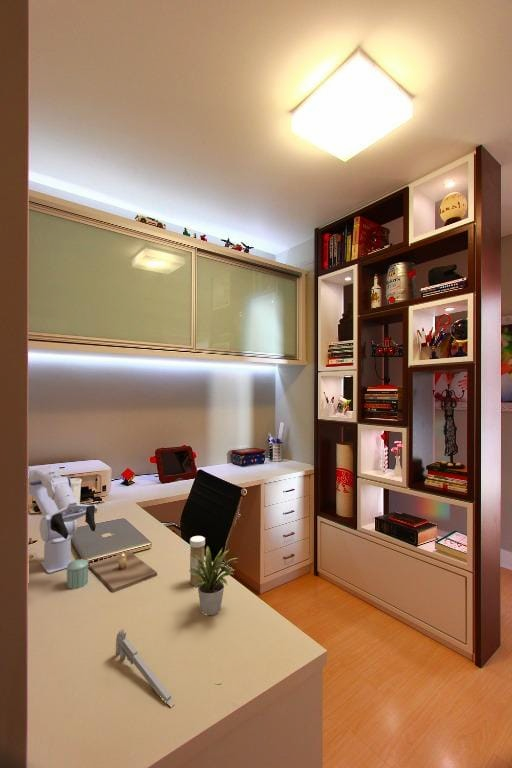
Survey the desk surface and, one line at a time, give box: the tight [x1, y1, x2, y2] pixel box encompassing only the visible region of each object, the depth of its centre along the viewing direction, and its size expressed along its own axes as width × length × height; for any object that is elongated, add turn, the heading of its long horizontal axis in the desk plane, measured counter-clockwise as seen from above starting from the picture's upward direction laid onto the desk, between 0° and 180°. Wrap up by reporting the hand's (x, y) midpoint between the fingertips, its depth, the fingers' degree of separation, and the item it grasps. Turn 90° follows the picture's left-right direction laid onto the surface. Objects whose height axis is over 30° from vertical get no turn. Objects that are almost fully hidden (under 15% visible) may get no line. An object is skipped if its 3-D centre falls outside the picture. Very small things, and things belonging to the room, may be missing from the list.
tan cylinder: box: [118, 552, 126, 570], centre depth 118 cm, size 2×2×5 cm
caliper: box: [115, 628, 175, 705], centre depth 75 cm, size 20×1×6 cm, turn 49°
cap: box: [66, 559, 89, 590], centre depth 110 cm, size 6×6×6 cm
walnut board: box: [88, 551, 158, 593], centre depth 118 cm, size 20×14×1 cm
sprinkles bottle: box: [189, 535, 206, 587], centre depth 112 cm, size 5×5×14 cm
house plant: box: [188, 545, 239, 616], centre depth 96 cm, size 14×14×16 cm
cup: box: [70, 477, 83, 504], centre depth 176 cm, size 8×8×14 cm
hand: (80, 532), depth 107 cm, fingers open, 7 cm apart
